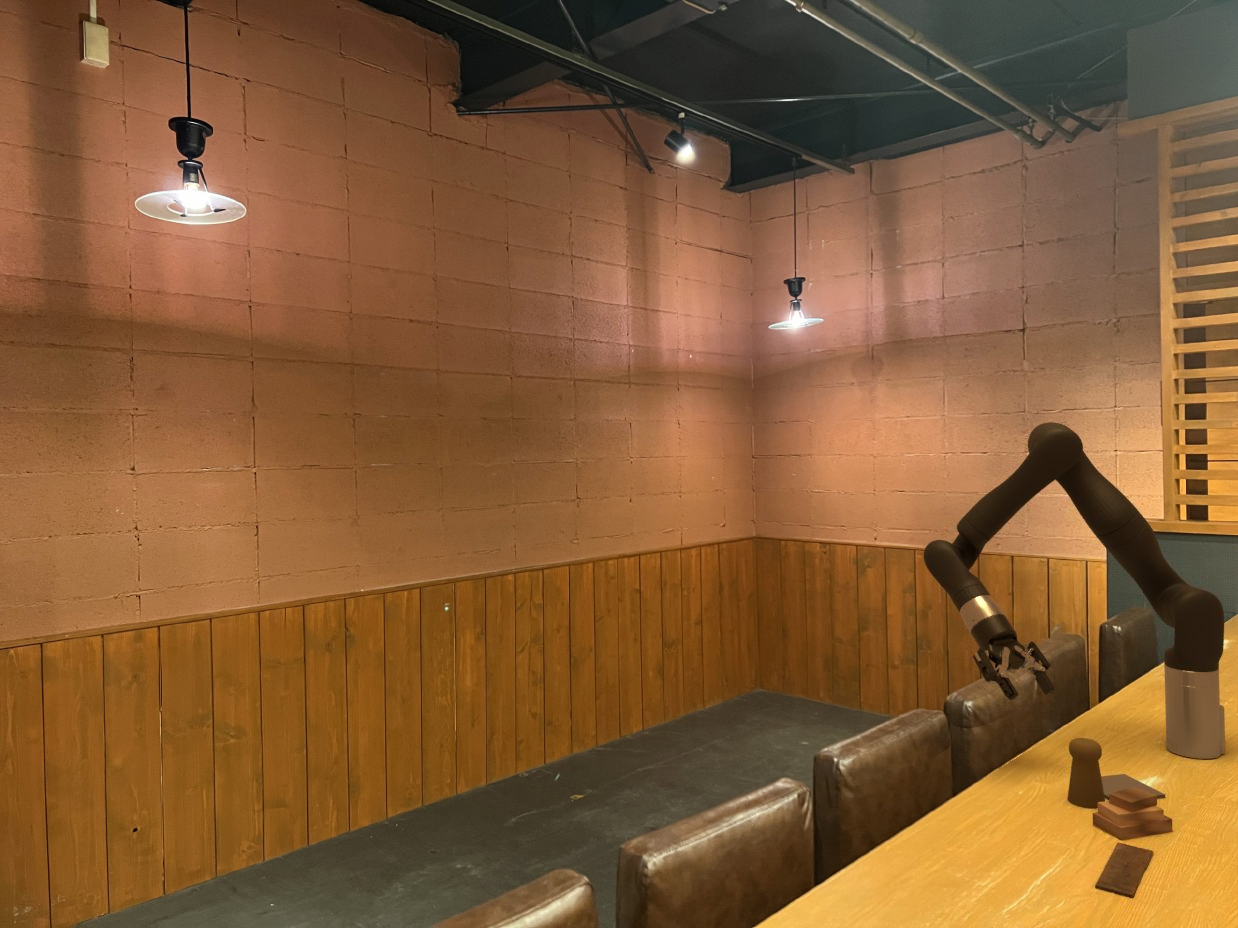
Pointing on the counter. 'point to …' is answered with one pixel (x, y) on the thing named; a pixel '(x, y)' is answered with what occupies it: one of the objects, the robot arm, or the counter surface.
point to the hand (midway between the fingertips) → (1032, 694)
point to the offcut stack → (1131, 815)
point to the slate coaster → (1125, 785)
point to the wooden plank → (1124, 870)
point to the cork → (1085, 774)
